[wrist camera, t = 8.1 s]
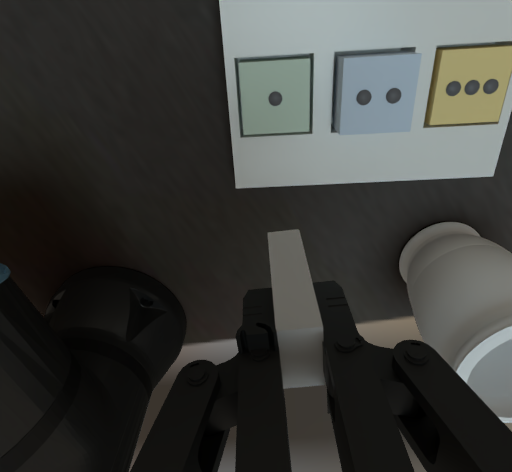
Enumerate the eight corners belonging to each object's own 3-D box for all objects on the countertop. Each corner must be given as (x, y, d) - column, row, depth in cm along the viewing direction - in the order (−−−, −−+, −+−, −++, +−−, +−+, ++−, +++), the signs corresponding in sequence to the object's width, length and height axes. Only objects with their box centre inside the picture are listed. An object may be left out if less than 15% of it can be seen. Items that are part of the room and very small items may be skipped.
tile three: (415, 116, 30) (430, 125, 27) (425, 48, 27) (443, 50, 25) (477, 113, 30) (498, 121, 27) (493, 44, 27) (519, 45, 25)
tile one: (245, 126, 31) (243, 135, 28) (240, 59, 28) (238, 63, 25) (305, 122, 30) (309, 131, 28) (305, 55, 28) (310, 58, 25)
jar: (393, 214, 35) (470, 321, 22) (503, 206, 35) (648, 313, 22) (383, 299, 40) (441, 428, 27) (479, 294, 40) (584, 423, 27)
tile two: (332, 125, 29) (339, 135, 26) (335, 55, 26) (344, 58, 24) (396, 122, 29) (410, 131, 26) (406, 51, 26) (422, 53, 23)
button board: (238, 174, 34) (235, 188, 30) (223, -9, 27) (217, -14, 24) (471, 162, 33) (493, 176, 30) (517, -29, 26) (551, -37, 23)
